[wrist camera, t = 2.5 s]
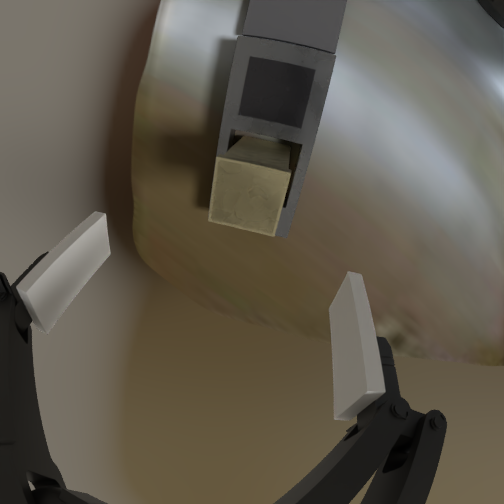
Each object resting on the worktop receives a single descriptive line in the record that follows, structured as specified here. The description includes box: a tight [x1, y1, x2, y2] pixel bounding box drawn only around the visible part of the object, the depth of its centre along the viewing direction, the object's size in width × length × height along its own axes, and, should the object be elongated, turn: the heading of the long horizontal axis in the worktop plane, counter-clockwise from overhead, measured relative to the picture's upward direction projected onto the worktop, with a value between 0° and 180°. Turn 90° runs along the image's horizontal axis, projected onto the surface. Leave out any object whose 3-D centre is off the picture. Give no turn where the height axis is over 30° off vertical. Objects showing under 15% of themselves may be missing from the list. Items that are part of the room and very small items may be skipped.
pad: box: [242, 0, 347, 54], centre depth 17 cm, size 9×9×1 cm
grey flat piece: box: [208, 36, 336, 238], centre depth 25 cm, size 20×9×3 cm, turn 169°
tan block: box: [208, 136, 291, 237], centre depth 24 cm, size 5×5×10 cm
